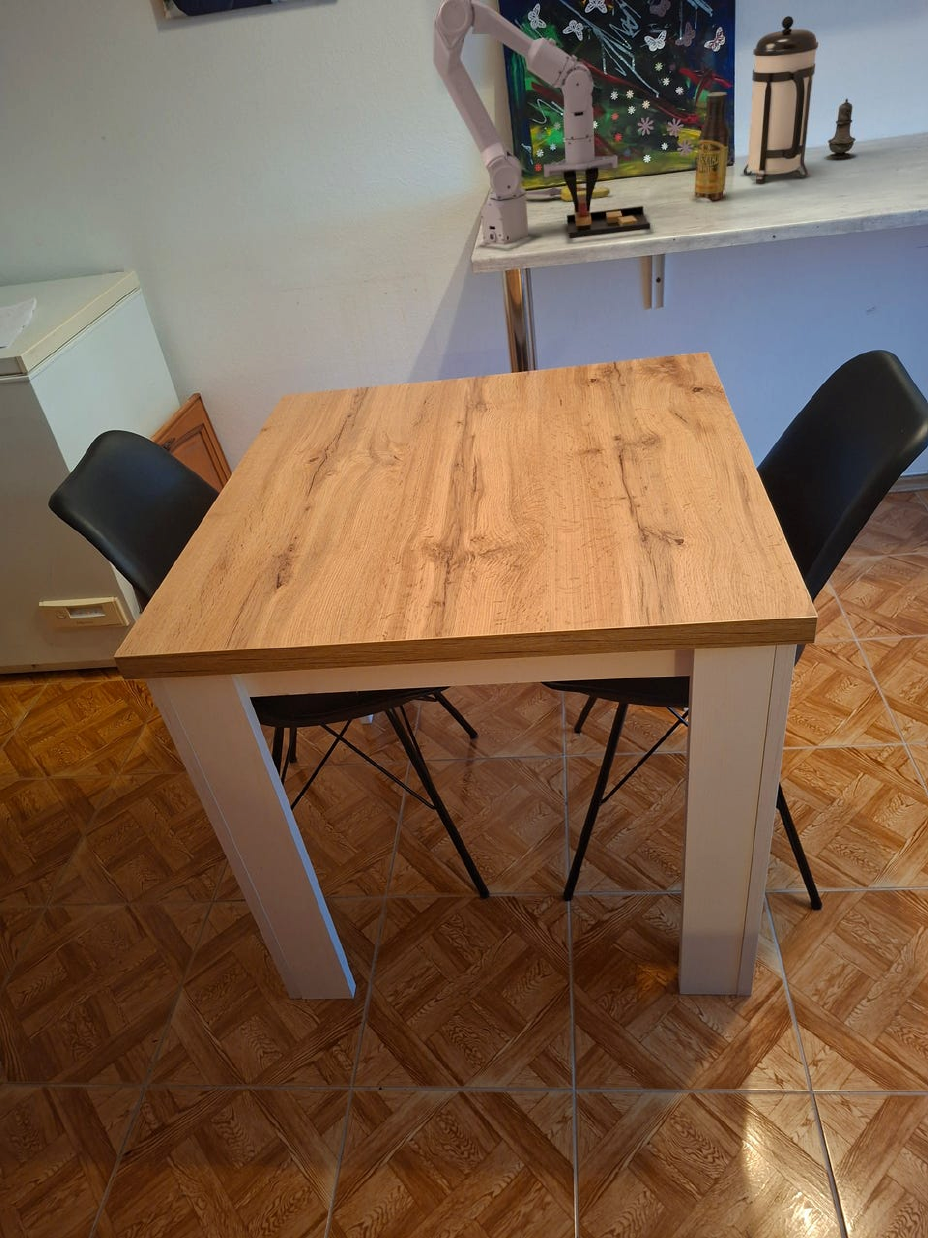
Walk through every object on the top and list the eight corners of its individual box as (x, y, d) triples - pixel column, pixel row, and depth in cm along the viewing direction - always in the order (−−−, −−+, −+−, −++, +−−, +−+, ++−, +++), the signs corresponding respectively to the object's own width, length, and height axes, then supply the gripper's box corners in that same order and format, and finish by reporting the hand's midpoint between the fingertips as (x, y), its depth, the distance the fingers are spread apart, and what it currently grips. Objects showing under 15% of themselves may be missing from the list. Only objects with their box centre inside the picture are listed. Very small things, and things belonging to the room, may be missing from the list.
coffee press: (724, 182, 198) (732, 24, 179) (764, 165, 205) (775, 12, 187) (793, 188, 187) (810, 20, 168) (833, 170, 194) (852, 7, 176)
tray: (569, 243, 176) (569, 232, 175) (567, 224, 187) (566, 214, 186) (650, 233, 174) (650, 223, 173) (642, 215, 185) (642, 205, 184)
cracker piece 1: (607, 223, 180) (607, 217, 179) (606, 218, 183) (606, 212, 183) (622, 221, 180) (622, 215, 179) (620, 216, 183) (620, 210, 182)
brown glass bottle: (688, 201, 189) (692, 96, 177) (704, 193, 192) (708, 90, 180) (715, 203, 185) (721, 96, 173) (731, 195, 188) (737, 89, 176)
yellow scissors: (503, 204, 208) (603, 202, 197) (502, 192, 207) (602, 190, 196) (517, 195, 213) (614, 193, 203) (516, 183, 212) (614, 181, 201)
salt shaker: (828, 161, 201) (835, 101, 194) (824, 155, 205) (830, 97, 198) (855, 158, 200) (863, 98, 192) (850, 152, 204) (858, 94, 197)
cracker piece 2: (622, 228, 176) (622, 222, 175) (617, 223, 179) (617, 217, 178) (637, 226, 176) (637, 219, 175) (632, 221, 179) (632, 215, 178)
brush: (576, 233, 176) (575, 205, 173) (574, 220, 185) (573, 193, 181) (591, 231, 176) (590, 204, 173) (588, 218, 184) (587, 191, 181)
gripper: (542, 144, 168) (547, 219, 176) (618, 134, 166) (619, 210, 174) (541, 138, 173) (546, 210, 182) (615, 128, 172) (616, 202, 180)
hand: (582, 210), depth 178 cm, fingers closed on brush, 2 cm apart
